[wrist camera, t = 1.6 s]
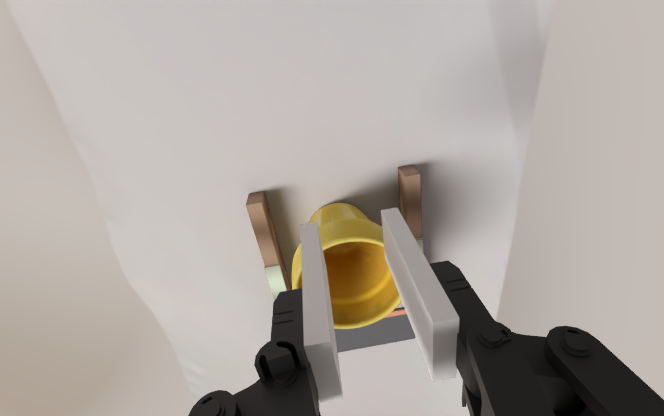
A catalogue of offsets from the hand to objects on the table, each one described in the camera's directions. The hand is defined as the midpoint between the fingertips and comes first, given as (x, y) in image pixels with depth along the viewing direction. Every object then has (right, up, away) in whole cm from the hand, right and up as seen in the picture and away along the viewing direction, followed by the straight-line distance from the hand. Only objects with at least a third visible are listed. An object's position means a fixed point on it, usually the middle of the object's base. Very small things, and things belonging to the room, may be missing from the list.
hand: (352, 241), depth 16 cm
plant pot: (0, -1, +22) cm, 22 cm away
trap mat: (+2, -15, +30) cm, 34 cm away
